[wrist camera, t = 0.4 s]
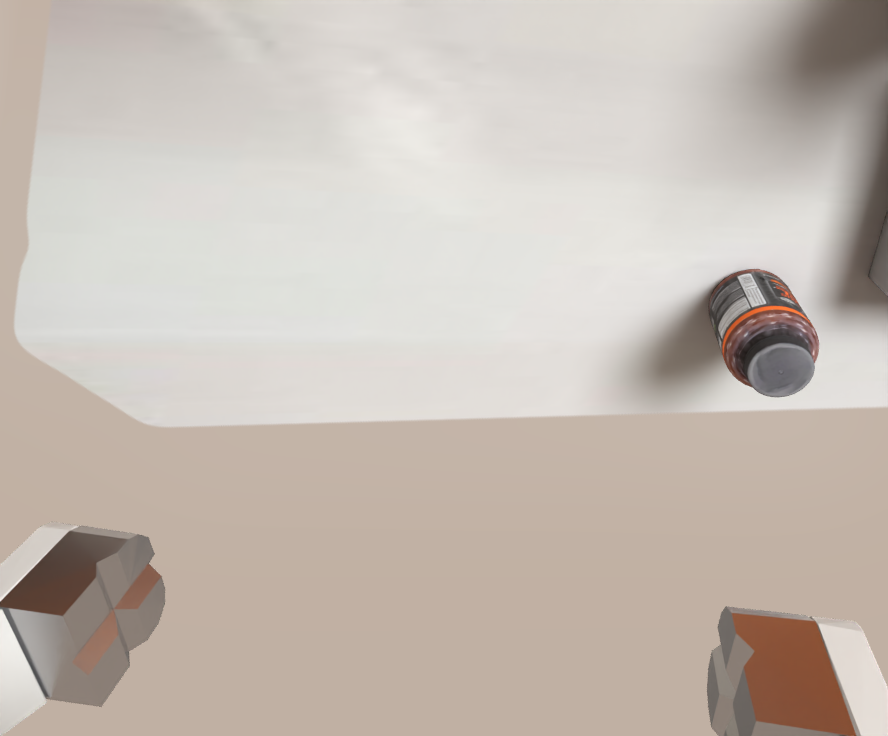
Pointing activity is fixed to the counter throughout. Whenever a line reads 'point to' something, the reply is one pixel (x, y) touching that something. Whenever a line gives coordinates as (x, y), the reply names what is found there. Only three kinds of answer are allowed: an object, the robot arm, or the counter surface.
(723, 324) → the supplement bottle
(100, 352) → the counter surface
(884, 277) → the walled box
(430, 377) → the counter surface
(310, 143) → the counter surface
